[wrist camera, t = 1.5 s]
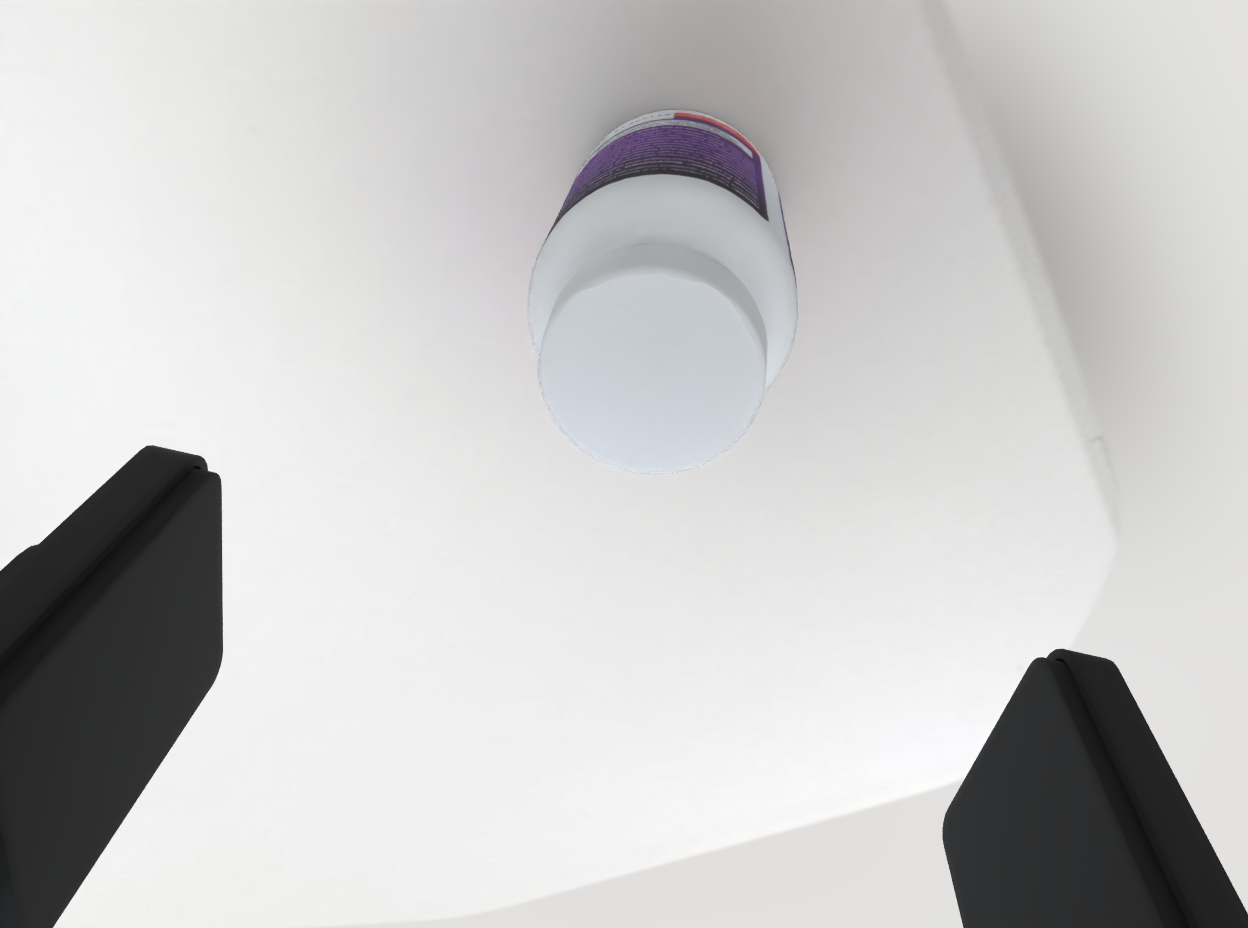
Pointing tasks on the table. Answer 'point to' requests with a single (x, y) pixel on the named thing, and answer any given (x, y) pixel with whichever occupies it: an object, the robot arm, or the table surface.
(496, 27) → the table surface
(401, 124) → the table surface
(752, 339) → the pill bottle
